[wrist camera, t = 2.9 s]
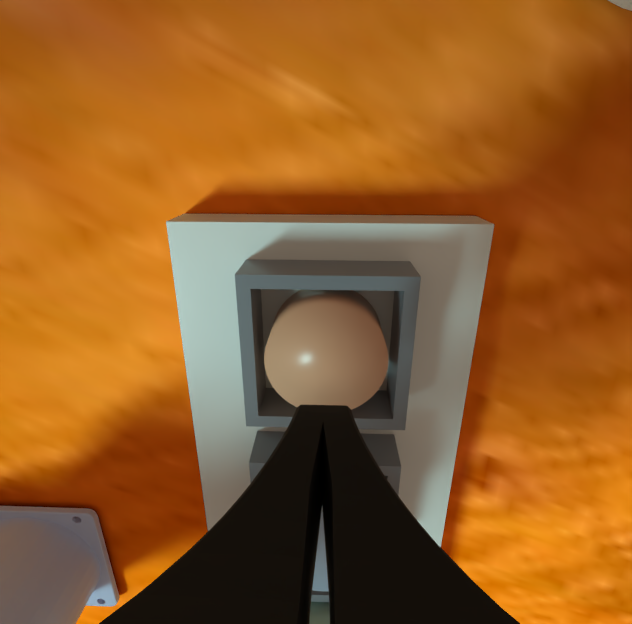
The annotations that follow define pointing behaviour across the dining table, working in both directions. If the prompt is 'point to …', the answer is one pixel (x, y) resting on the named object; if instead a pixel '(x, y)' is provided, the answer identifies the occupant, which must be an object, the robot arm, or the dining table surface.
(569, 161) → the dining table surface
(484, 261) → the button console
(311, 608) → the sage button
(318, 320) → the terracotta button
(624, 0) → the teacup with lid
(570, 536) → the dining table surface
